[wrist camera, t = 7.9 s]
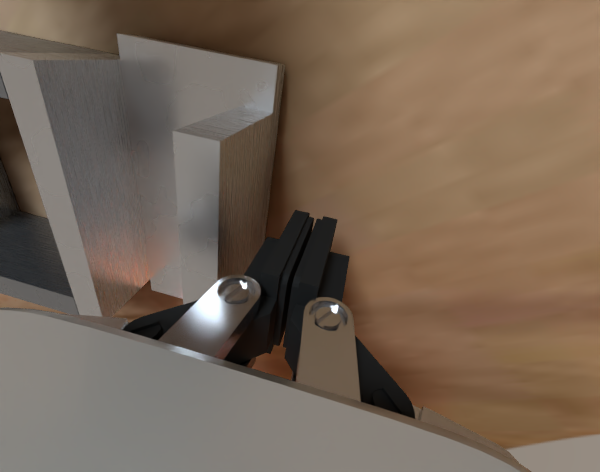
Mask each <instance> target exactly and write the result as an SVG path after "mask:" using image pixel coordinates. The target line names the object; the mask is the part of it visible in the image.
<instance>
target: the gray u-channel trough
mask: <svg viewBox="0 0 600 472" xmlns="http://www.w3.org/2000/svg"><path fill="white" fill-rule="evenodd" d="M117 39H118V47H119V54H120V56H119V55H114V54H92V53H31V52H0V72H1V76H2V79H3V82H4V85H5V88H6V91H7V94H8V97H9V100H10V103H11V106H12V109H13V112H14V115H15V118H16V122H17V125H18V128H19V131H20V134H21V137H22V140H23V143H24V146H25V149H26V152H27V155H28V158H29V161H30V164H31V168H32V171H33V174H34V177H35V180H36V183H37V186H38V189H39V192H40V195H41V198H42V201H43V204H44V207H45V210H46V214H47V217H48V220H49V223H50V226H51V229H52V232H53V235H54V238H55V241H56V244H57V247H58V250H59V253H60V256H61V260H62V263H63V266H64V269H65V272H66V275H67V278H68V281H69V284H70V287H71V290H72V293H73V296H74V299H75V302H76V306H77V309H78V312H79V315H88V316H101V317H112V316H113V315H114V314H115V313H116V312H117V311H118V310H119V309H120V308H121V307H122V306H123V305H124V304H125V303H126V302H127V301H128V300H129V299H130V298H131V297H132V296H133V295H135V294H136V293H137V292H138V291H139V290H140V289H141V288H142V287H143V286H144V285H145V284H146V283H147V282H148V281H149V280H150V281H151V289H152V290H153V291H157V292H160V293H164V294H167V295H171V296H174V297H178V298H181V299H183V305H184V304H187V303H190V302H194V301H197V300H199V299H200V298H201V297H202V296H203V295H204V294H205V293H206V292H207V291H208V290H209V289H210V288H211V287H212V286H213V285H214V284H215V283H216V282H217V281H219V280H220V279H221V278H224V277H226V276H230V275H244V273H245V272H246V270H247V269H248V267H249V265H250V264H251V262H252V261H253V259H254V257H255V256H256V254H257V253H258V251H259V249H260V248H261V246H262V245H263V243H264V241H265V233H266V224H267V215H268V207H269V198H270V190H271V181H272V173H273V164H274V156H275V147H276V139H277V130H278V121H279V113H280V104H281V96H282V87H283V79H284V70H285V65H284V64H279V63H274V62H269V61H264V60H259V59H254V58H249V57H244V56H239V55H234V54H229V53H224V52H219V51H214V50H209V49H204V48H198V47H193V46H188V45H183V44H178V43H173V42H168V41H163V40H158V39H153V38H148V37H143V36H138V35H130V34H119V33H117Z"/></svg>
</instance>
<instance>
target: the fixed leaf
mask: <svg viewBox="0 0 600 472" xmlns="http://www.w3.org/2000/svg"><path fill="white" fill-rule="evenodd" d="M0 52H31V53H92V54H112V53H108V52H103V51H98V50H93V49H88V48H83V47H78V46H74V45H69V44H64V43H59V42H54V41H49V40H44V39H40V38H35V37H30V36H25V35H20V34H15V33H11V32H6V31H1V30H0ZM0 97H1V98H6V99H9V97H8V94H7V91H6V88H5V85H4V82H3V79H2V76H1V72H0ZM0 293H2V294H5V295H8V296H12V297H15V298H18V299H22V300H25V301H28V302H32V303H35V304H38V305H42V306H45V307H48V308H52V309H55V310H58V311H62V312H65V313H68V314H75V315H79V312H78V309H77V306H76V302H75V299H74V296H73V293H72V290H71V287H70V284H69V281H68V278H67V275H66V272H65V269H64V266H63V263H62V260H61V256H60V253H59V250H58V247H57V244H56V241H55V238H54V235H53V232H52V229H51V226H50V223H49V220H48V219H47V218H43V217H40V216H36V215H32V214H29V213H25V212H21V211H20V210H19V207H18V205H17V202H16V199H15V197H14V194H13V191H12V189H11V186H10V183H9V181H8V178H7V175H6V173H5V170H4V167H3V165H2V162H1V159H0Z"/></svg>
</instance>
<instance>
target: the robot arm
mask: <svg viewBox="0 0 600 472" xmlns="http://www.w3.org/2000/svg"><path fill="white" fill-rule="evenodd" d="M313 222H314V218H312V217H309V213H306V212H302V211H298V210H295V212H294V213H293V215H292V217H291V219H290V221H289V222H288V224H287V226H286V228H285V230H284V231H283V233H282V235H281V237H280V239H275V238H271V237H267V239H266V240H265V241H264V243H263V245H262V246H261V248H260V249H259V251H258V253H257V254H256V256H255V257H254V259H253V261H252V262H251V264H250V265H249V267H248V269H247V270H246V272H245V273H244V275H230V276H226V277H224V278H221V279H220V280H219V281H217V282H216V283H215V284H214V285H213V286H212V287H211V288H210V289H209V290H208V291H207V292H206V293H205V294H204V295H203V296H202V297H201V298H200V299H199V300H197V301H194V302H190V303H187V304H184V305H180V306H177V307H174V308H170V309H167V310H163V311H160V312H157V313H153V314H150V315H147V316H143V317H141V318H138V319H136V320H134V321H132V322H131V323H129V322H128V321H127V318H114V317H101V316H88V315H75V314H58V313H54V312H48V311H41V310H35V309H23V308H0V472H531V471H530V470H528V469H527V468H525V467H524V466H522V465H521V464H519V462H518V461H517V460H516V459H515V458H514V457H513V456H512V455H511V454H510V453H509V452H508V451H507V450H505V449H504V448H502V447H501V446H499V445H498V444H496V443H494V442H492V441H490V440H488V439H486V438H484V437H482V436H481V435H479V434H477V433H475V432H473V431H471V430H469V429H467V428H465V427H463V426H461V425H459V424H457V423H455V422H453V421H452V420H450V419H448V418H446V417H444V416H442V415H440V414H438V413H436V412H434V411H432V410H430V409H428V408H426V407H424V406H423V407H422V409H419V408H418V407H416V406H414V405H412V403H411V401H410V400H409V398H408V397H407V395H406V394H405V393H404V391H403V390H402V389H401V388H400V387H399V386H398V384H397V383H396V382H395V381H394V380H393V379H392V378H391V376H390V375H389V374H388V373H387V372H386V371H385V369H384V368H383V367H382V366H381V365H380V364H379V363H378V361H377V360H376V359H375V358H374V357H373V356H372V354H371V353H370V352H369V351H368V350H367V349H366V348H365V346H364V345H363V344H362V343H361V342H360V341H359V339H358V338H357V337H356V336H355V331H354V319H353V315H352V312H351V311H350V309H349V308H348V307H347V306H346V305H345V304H344V303H342V298H343V292H344V286H345V280H346V274H347V268H348V262H349V256H346V255H341V254H337V253H333V252H330V250H331V246H332V241H333V237H334V232H335V228H336V223H337V219H333V218H329V217H324V216H323V219H322V220H321V219H317V221H316V223H315V226H314V228H313V231H312V227H313ZM285 328H286V329H285ZM284 331H285V336H284V342H283V347H285V348H286V352H285V359H286V361H287V362H288V364H289V366H290V367H291V369H292V371H293V372H292V377H291V380H288V379H285V378H281V377H278V376H275V375H271V374H268V373H265V372H261V371H258V370H255V369H251V368H252V367H253V365H254V363H255V360H256V357H257V356H259V355H261V354H264V353H269V354H270V353H271V351H272V348H273V345H278V346H279V345H280V342H281V340H282V337H283V334H284Z"/></svg>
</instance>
